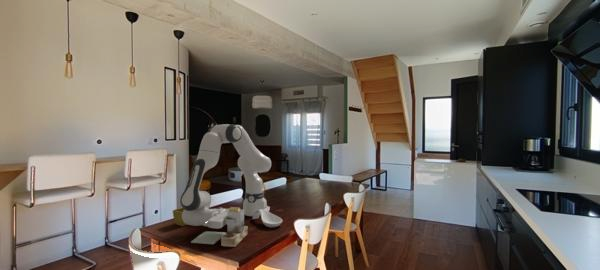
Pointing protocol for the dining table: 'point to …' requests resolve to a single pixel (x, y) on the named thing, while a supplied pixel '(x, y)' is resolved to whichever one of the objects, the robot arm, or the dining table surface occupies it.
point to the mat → (208, 237)
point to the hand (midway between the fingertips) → (237, 219)
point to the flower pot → (178, 217)
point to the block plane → (233, 237)
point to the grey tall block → (238, 216)
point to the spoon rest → (268, 218)
